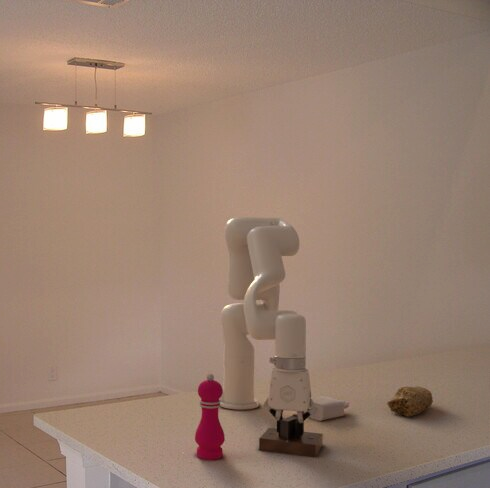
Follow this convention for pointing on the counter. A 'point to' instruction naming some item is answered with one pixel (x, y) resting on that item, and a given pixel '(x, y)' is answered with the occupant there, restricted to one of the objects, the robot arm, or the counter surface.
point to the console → (291, 443)
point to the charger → (328, 408)
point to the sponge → (410, 401)
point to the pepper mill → (209, 421)
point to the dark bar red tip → (288, 427)
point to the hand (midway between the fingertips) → (290, 435)
